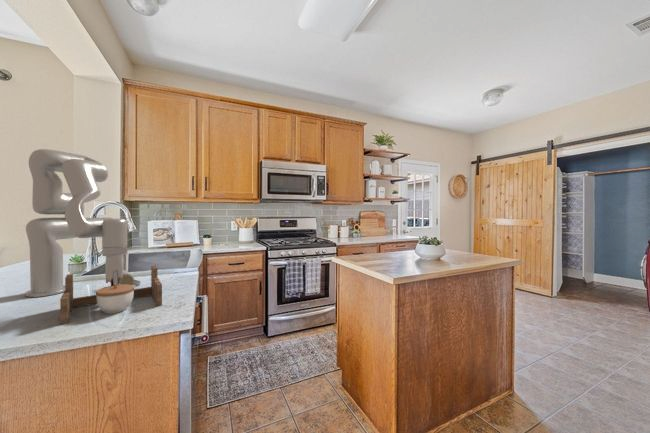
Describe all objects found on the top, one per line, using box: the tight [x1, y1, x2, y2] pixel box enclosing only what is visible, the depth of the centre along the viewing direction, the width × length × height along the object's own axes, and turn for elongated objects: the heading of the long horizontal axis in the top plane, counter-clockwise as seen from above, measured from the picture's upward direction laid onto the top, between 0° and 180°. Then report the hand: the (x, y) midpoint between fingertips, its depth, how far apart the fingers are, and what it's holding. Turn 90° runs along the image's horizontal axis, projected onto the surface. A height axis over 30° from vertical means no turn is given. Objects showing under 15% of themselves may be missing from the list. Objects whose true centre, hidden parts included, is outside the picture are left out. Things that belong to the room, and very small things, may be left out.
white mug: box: [109, 269, 141, 286], centre depth 120 cm, size 11×8×8 cm
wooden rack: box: [59, 265, 163, 325], centre depth 97 cm, size 18×27×12 cm, turn 130°
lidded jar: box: [95, 284, 135, 314], centre depth 93 cm, size 11×11×9 cm
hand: (115, 298), depth 101 cm, fingers closed
